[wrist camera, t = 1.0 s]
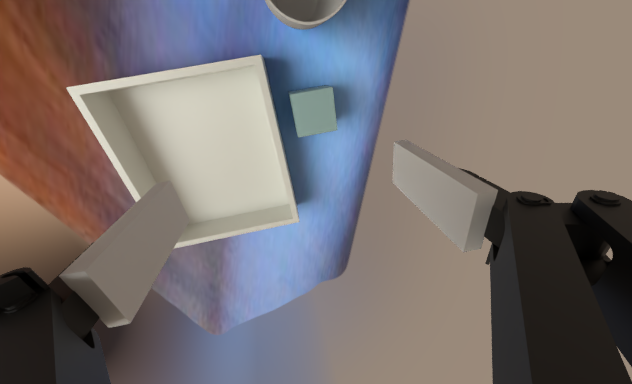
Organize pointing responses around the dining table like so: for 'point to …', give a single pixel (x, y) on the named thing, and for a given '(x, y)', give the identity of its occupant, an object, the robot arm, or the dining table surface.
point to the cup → (304, 11)
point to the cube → (313, 110)
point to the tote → (198, 143)
